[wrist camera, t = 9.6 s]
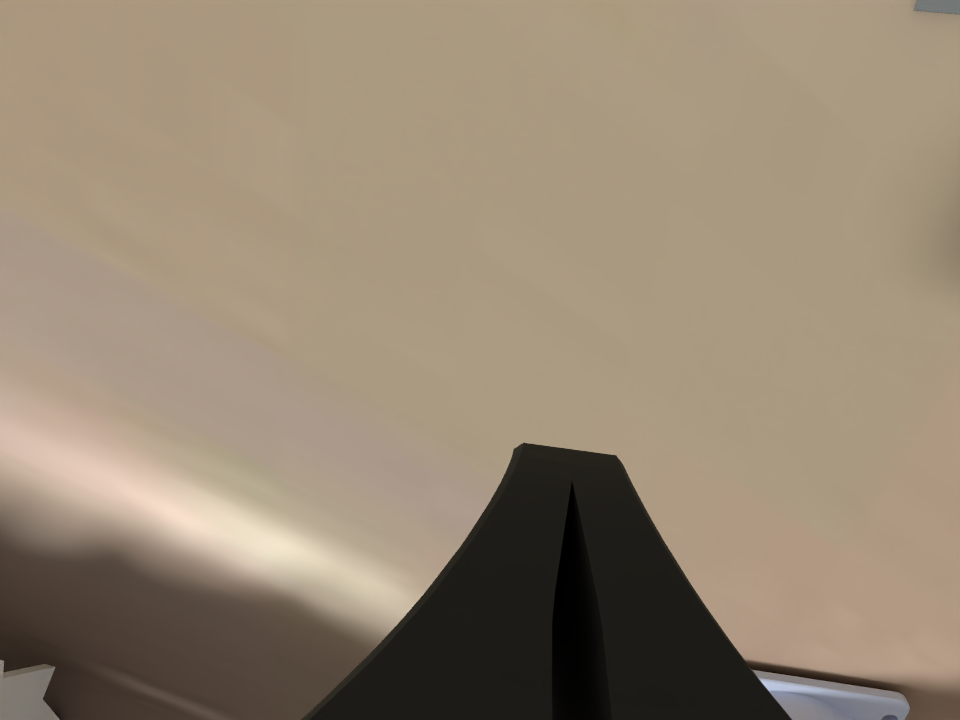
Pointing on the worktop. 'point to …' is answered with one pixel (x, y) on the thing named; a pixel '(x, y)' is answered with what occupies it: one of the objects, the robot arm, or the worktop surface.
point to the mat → (938, 6)
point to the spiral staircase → (25, 693)
